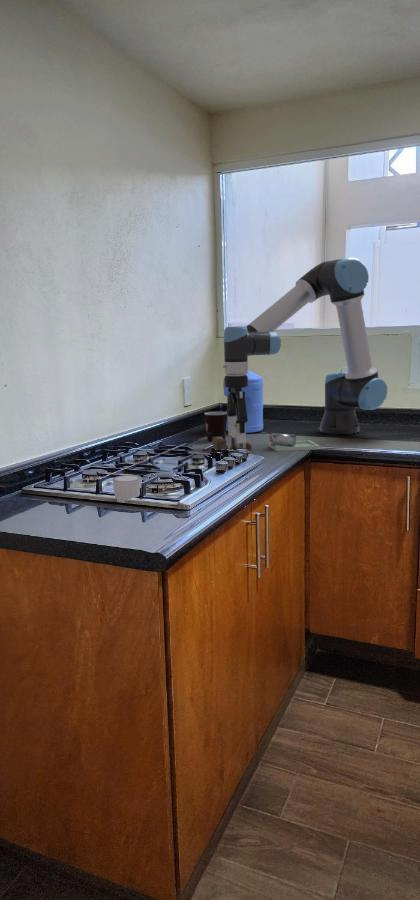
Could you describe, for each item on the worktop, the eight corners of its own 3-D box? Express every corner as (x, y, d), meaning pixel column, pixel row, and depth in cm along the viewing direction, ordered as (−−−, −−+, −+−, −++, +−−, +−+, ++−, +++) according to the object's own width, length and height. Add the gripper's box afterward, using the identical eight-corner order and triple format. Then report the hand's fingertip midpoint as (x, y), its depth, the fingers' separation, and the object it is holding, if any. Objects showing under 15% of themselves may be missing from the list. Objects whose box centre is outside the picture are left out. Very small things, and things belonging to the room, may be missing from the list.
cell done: (293, 433, 204) (268, 432, 203) (296, 435, 200) (271, 433, 199) (291, 445, 205) (267, 443, 203) (295, 447, 201) (270, 445, 199)
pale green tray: (309, 444, 209) (309, 440, 209) (319, 449, 200) (319, 445, 199) (268, 446, 206) (268, 442, 206) (276, 452, 197) (276, 448, 197)
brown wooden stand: (246, 447, 205) (246, 433, 204) (253, 453, 197) (253, 438, 196) (212, 449, 203) (212, 435, 202) (217, 455, 195) (217, 440, 194)
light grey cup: (129, 500, 146) (127, 473, 145) (149, 505, 142) (147, 477, 141) (107, 507, 141) (106, 479, 140) (127, 513, 137) (126, 483, 136)
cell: (241, 447, 202) (241, 422, 201) (244, 450, 199) (243, 424, 197) (229, 448, 202) (229, 423, 200) (232, 450, 198) (231, 425, 196)
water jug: (245, 425, 251) (244, 357, 245) (271, 430, 238) (271, 358, 233) (216, 429, 241) (214, 359, 236) (241, 435, 229) (240, 361, 223)
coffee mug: (225, 442, 215) (225, 415, 213) (202, 442, 216) (201, 414, 214) (231, 436, 226) (231, 410, 224) (208, 436, 227) (208, 410, 225)
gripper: (217, 372, 206) (218, 433, 211) (233, 378, 182) (233, 446, 187) (238, 371, 208) (239, 431, 212) (257, 377, 184) (257, 445, 188)
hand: (236, 439), depth 199 cm, fingers open, 13 cm apart
